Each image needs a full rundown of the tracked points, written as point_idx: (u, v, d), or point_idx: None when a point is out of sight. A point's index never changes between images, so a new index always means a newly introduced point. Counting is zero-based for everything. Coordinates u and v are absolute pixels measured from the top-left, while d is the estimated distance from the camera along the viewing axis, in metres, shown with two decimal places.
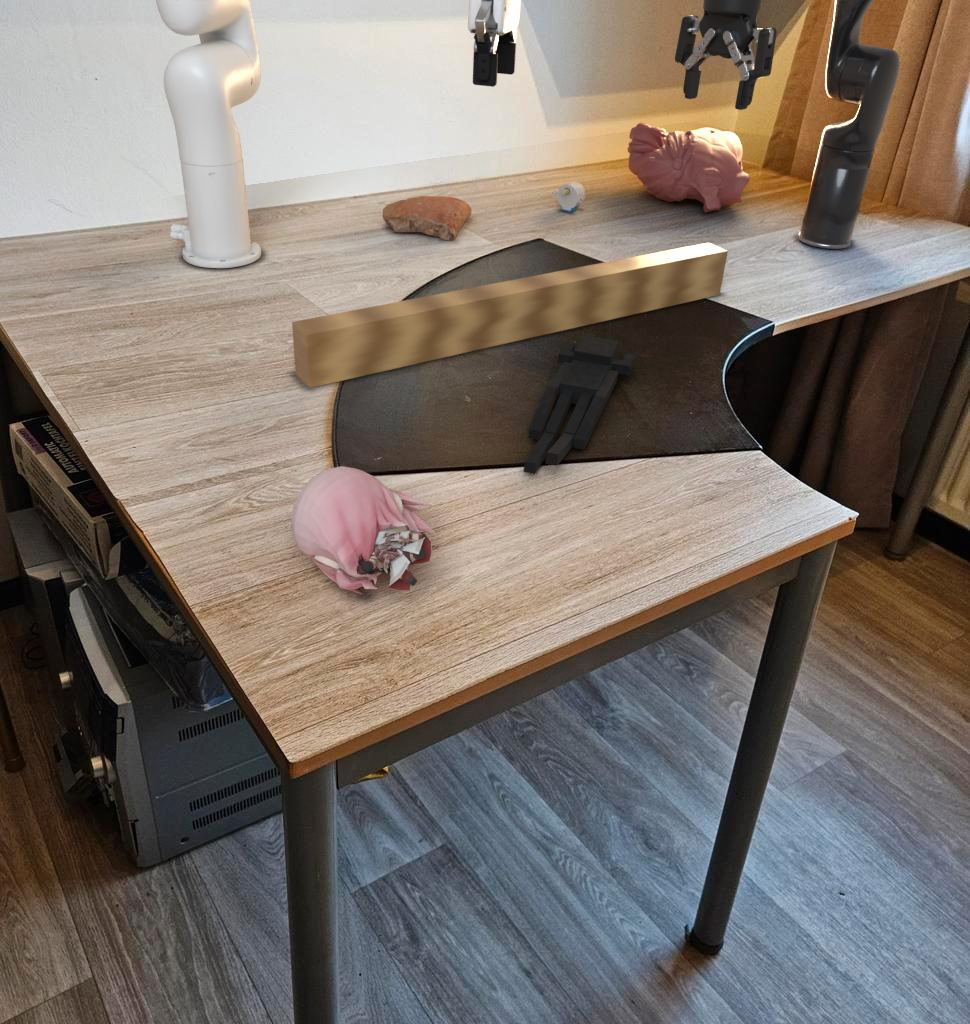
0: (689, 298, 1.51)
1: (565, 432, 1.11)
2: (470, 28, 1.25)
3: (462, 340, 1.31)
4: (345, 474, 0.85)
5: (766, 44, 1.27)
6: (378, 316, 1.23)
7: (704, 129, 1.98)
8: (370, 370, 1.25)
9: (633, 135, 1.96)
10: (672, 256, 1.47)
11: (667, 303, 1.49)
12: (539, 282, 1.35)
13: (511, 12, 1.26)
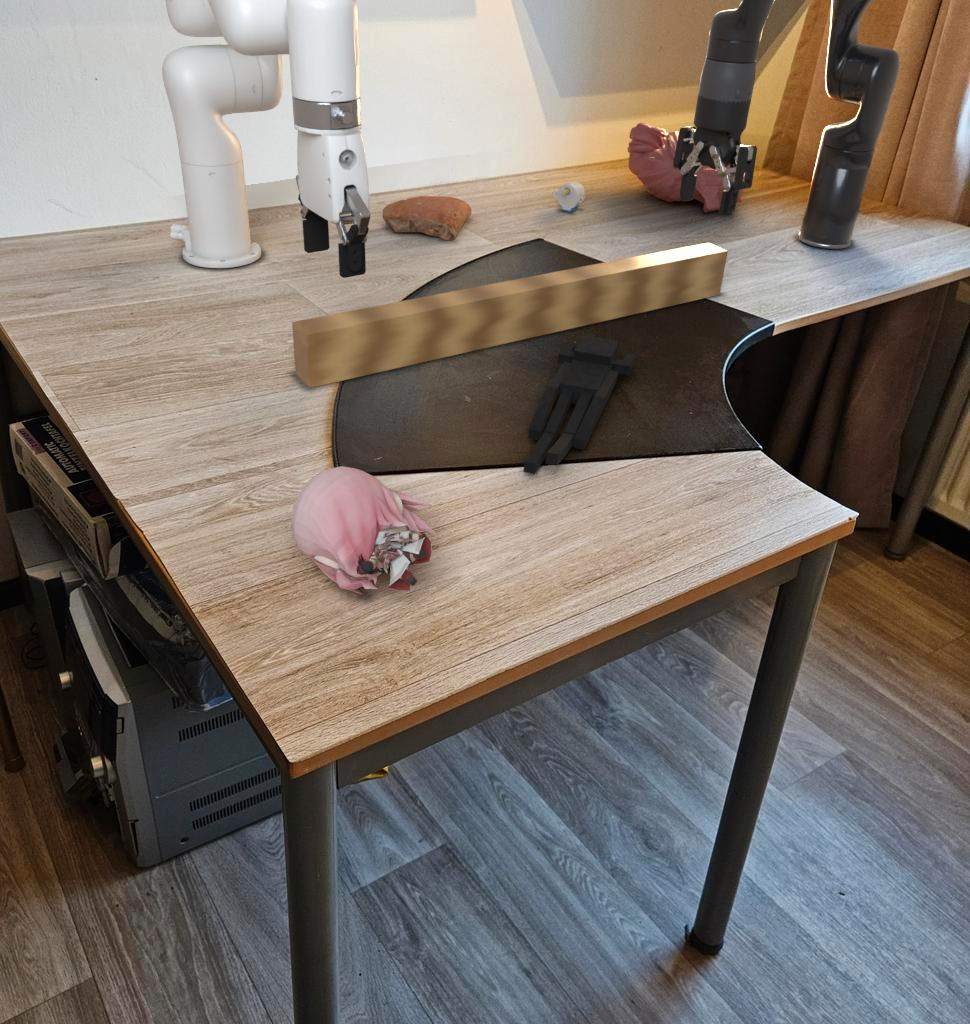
0: (689, 298, 1.51)
1: (565, 432, 1.11)
2: None
3: (462, 340, 1.31)
4: (345, 474, 0.85)
5: (744, 161, 1.36)
6: (378, 316, 1.23)
7: None
8: (370, 370, 1.25)
9: (633, 135, 1.96)
10: (672, 256, 1.47)
11: (667, 303, 1.49)
12: (539, 282, 1.35)
13: (307, 191, 1.12)
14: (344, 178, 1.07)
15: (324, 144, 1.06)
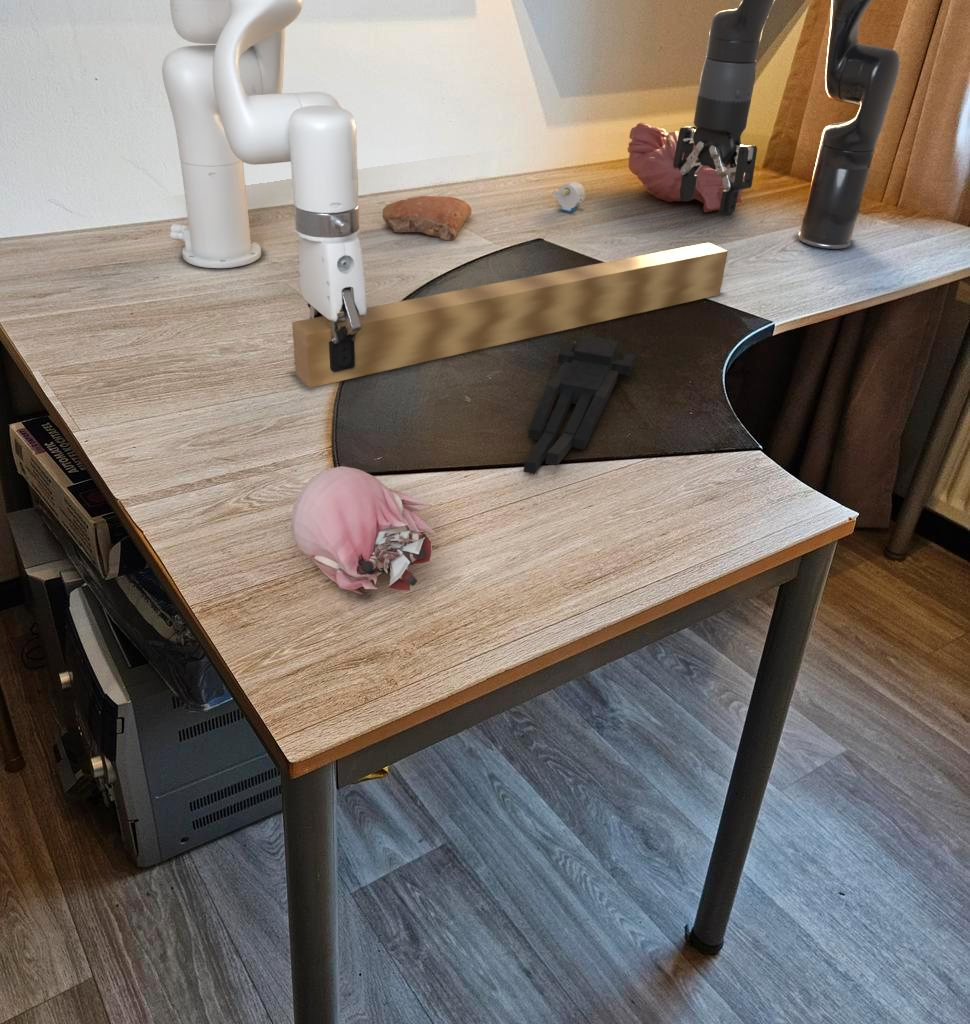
0: (689, 298, 1.51)
1: (565, 432, 1.11)
2: None
3: (462, 340, 1.31)
4: (345, 474, 0.85)
5: (744, 161, 1.36)
6: (378, 316, 1.23)
7: None
8: (370, 370, 1.25)
9: (633, 135, 1.96)
10: (672, 256, 1.47)
11: (667, 303, 1.49)
12: (539, 282, 1.35)
13: (308, 288, 1.18)
14: (342, 281, 1.13)
15: (323, 251, 1.12)
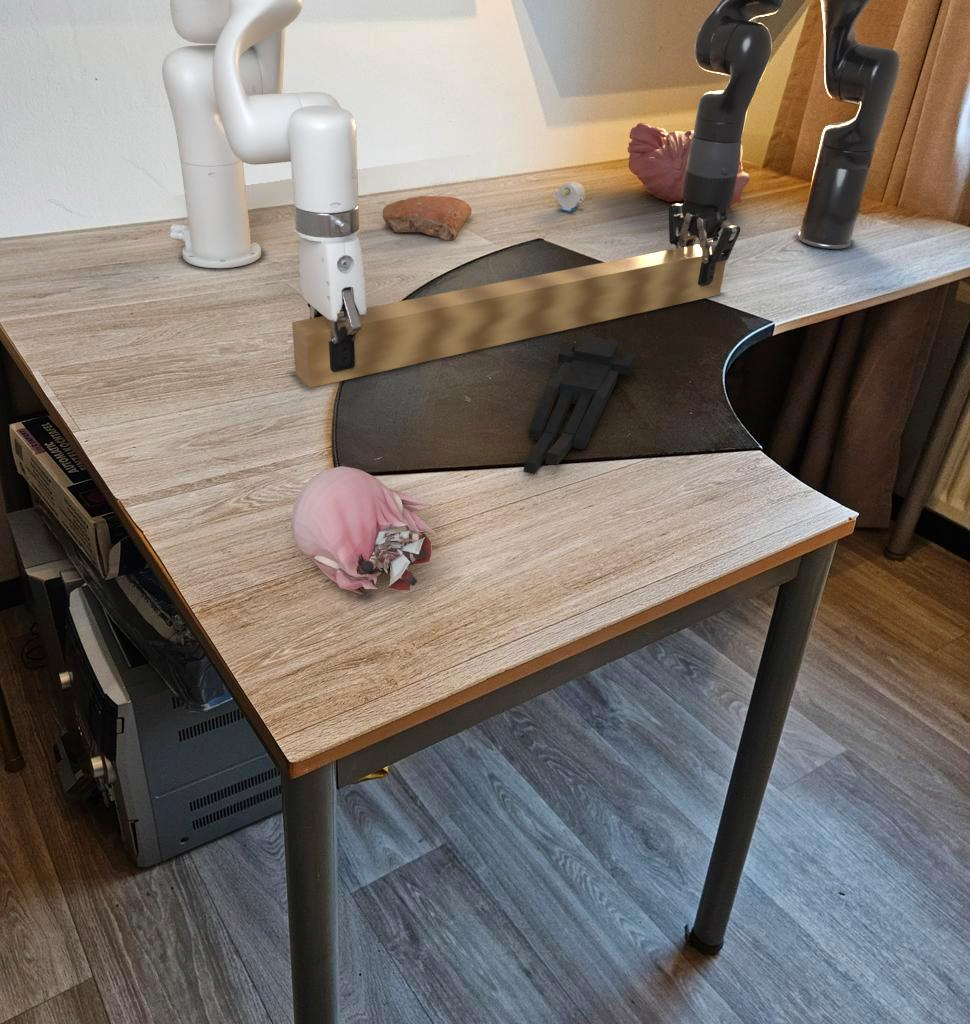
0: (689, 298, 1.51)
1: (565, 432, 1.11)
2: None
3: (462, 340, 1.31)
4: (345, 474, 0.85)
5: (726, 241, 1.43)
6: (378, 316, 1.23)
7: None
8: (370, 370, 1.25)
9: (633, 135, 1.96)
10: (672, 256, 1.47)
11: (667, 303, 1.49)
12: (539, 282, 1.35)
13: (308, 288, 1.18)
14: (342, 281, 1.13)
15: (323, 251, 1.12)
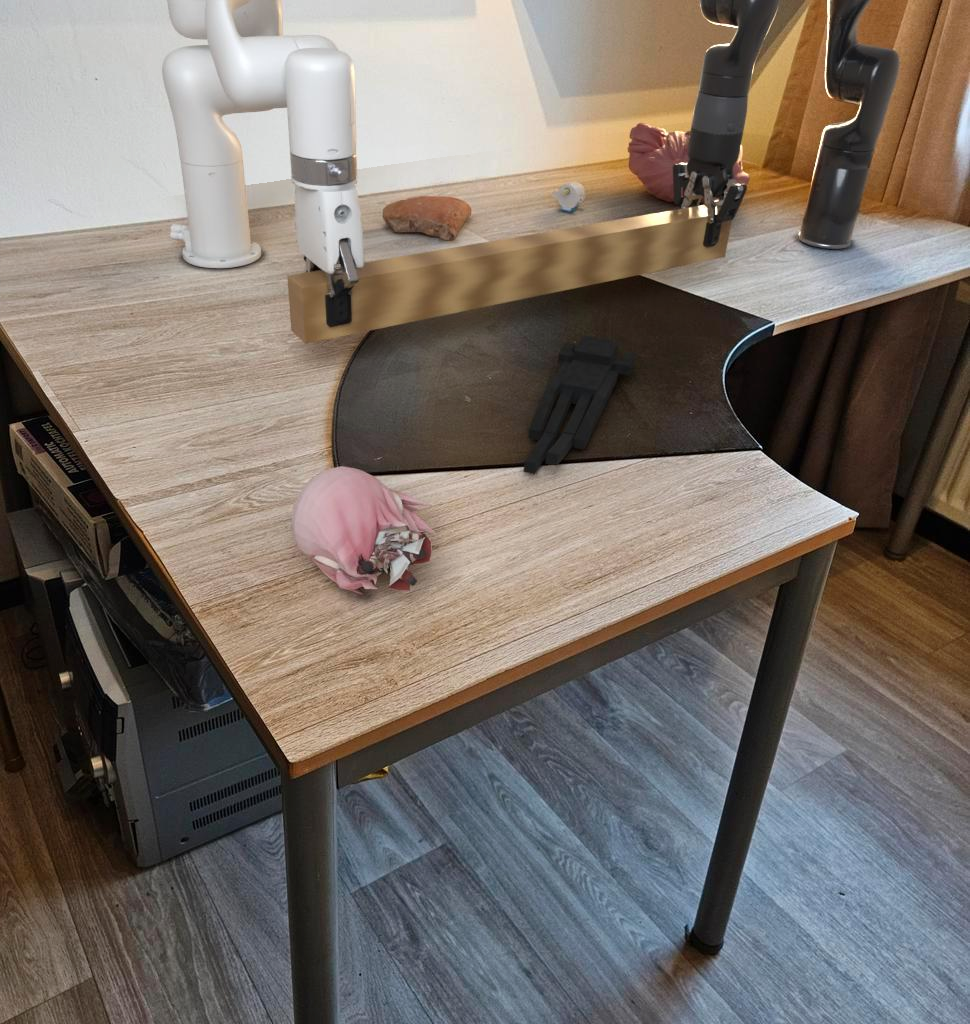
0: (694, 260, 1.48)
1: (565, 432, 1.11)
2: None
3: (461, 297, 1.28)
4: (345, 474, 0.85)
5: (732, 199, 1.40)
6: (375, 271, 1.20)
7: None
8: (367, 326, 1.22)
9: (633, 135, 1.96)
10: (677, 216, 1.44)
11: (672, 264, 1.46)
12: (541, 239, 1.32)
13: (304, 240, 1.15)
14: (339, 232, 1.10)
15: (320, 199, 1.08)
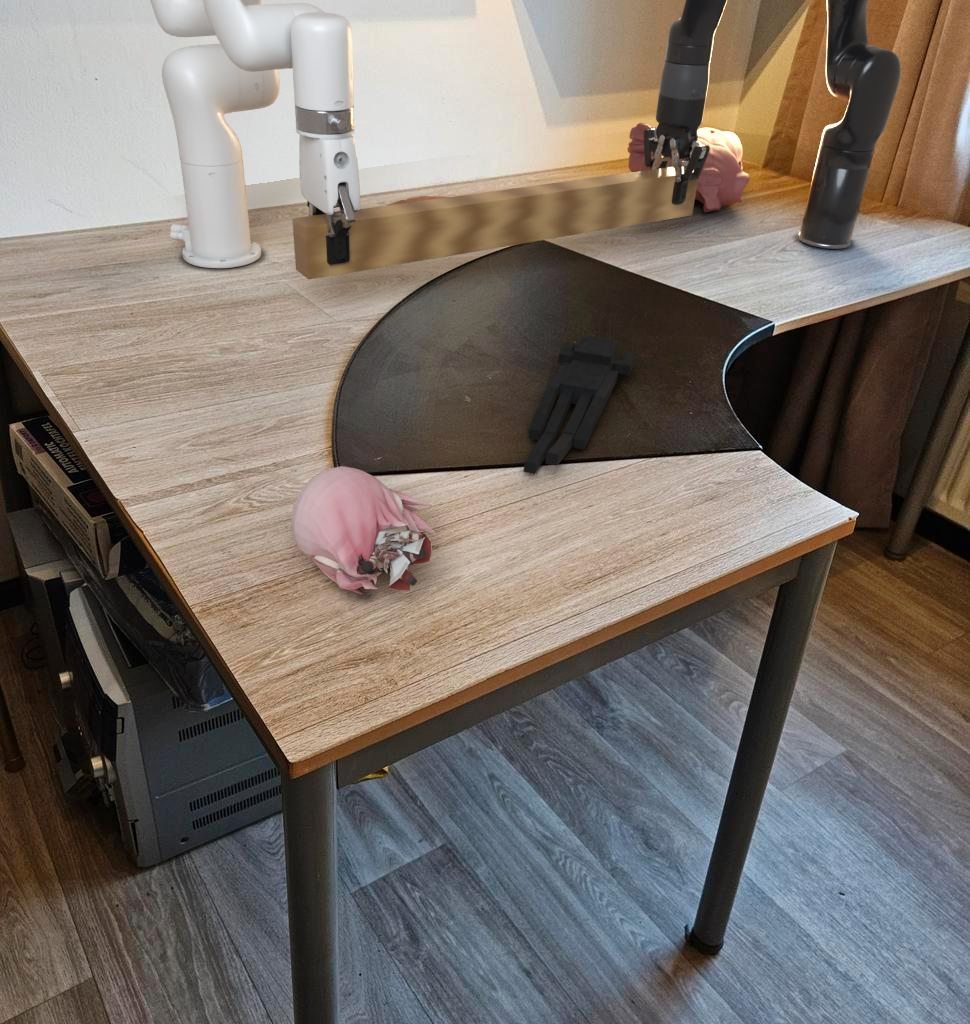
0: (663, 216, 1.62)
1: (565, 432, 1.11)
2: None
3: (449, 242, 1.42)
4: (345, 474, 0.85)
5: (696, 159, 1.54)
6: (371, 215, 1.34)
7: (704, 129, 1.98)
8: (363, 266, 1.36)
9: (633, 135, 1.96)
10: (647, 175, 1.58)
11: (642, 219, 1.60)
12: (521, 192, 1.47)
13: (307, 186, 1.30)
14: (338, 176, 1.25)
15: (321, 147, 1.23)
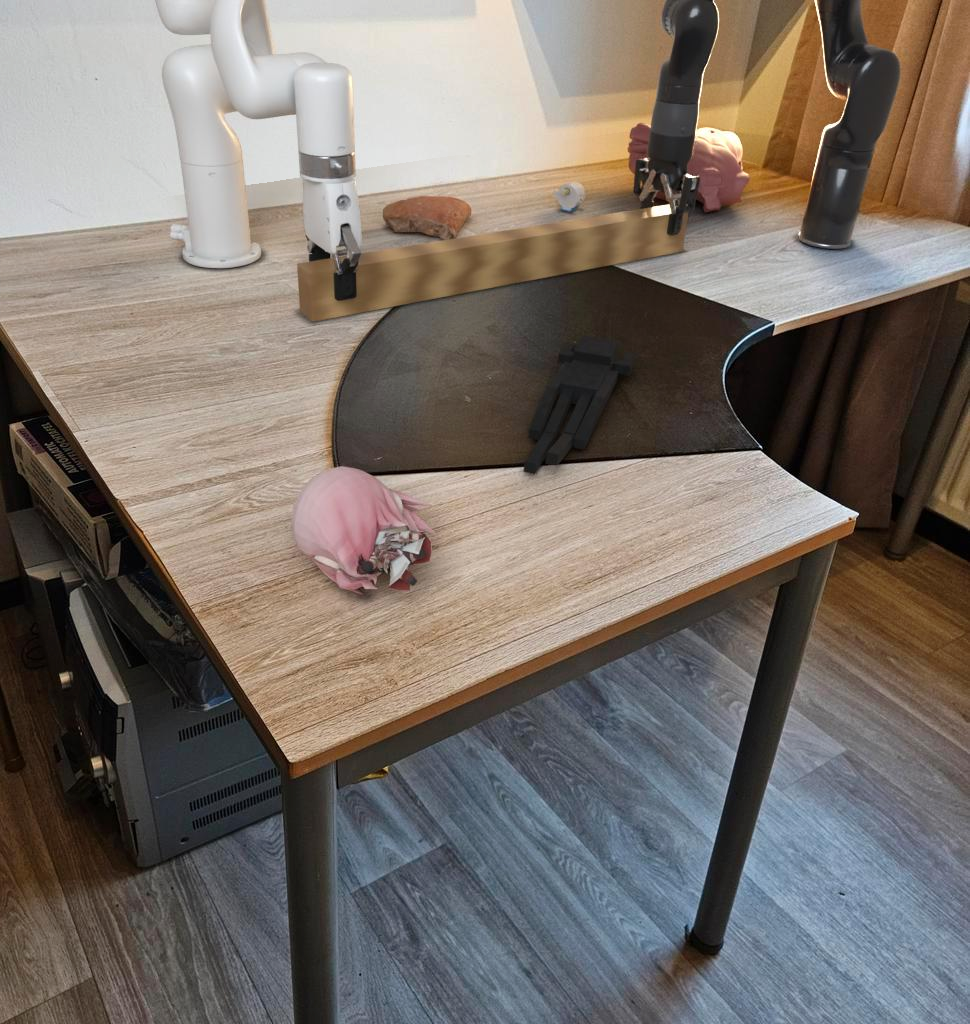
0: (654, 253, 1.68)
1: (565, 432, 1.11)
2: None
3: (447, 284, 1.48)
4: (345, 474, 0.85)
5: (688, 190, 1.59)
6: (372, 260, 1.40)
7: (704, 129, 1.98)
8: (365, 308, 1.42)
9: (633, 135, 1.96)
10: (638, 215, 1.64)
11: (634, 257, 1.66)
12: (517, 234, 1.52)
13: (310, 226, 1.34)
14: (340, 218, 1.29)
15: (324, 190, 1.28)
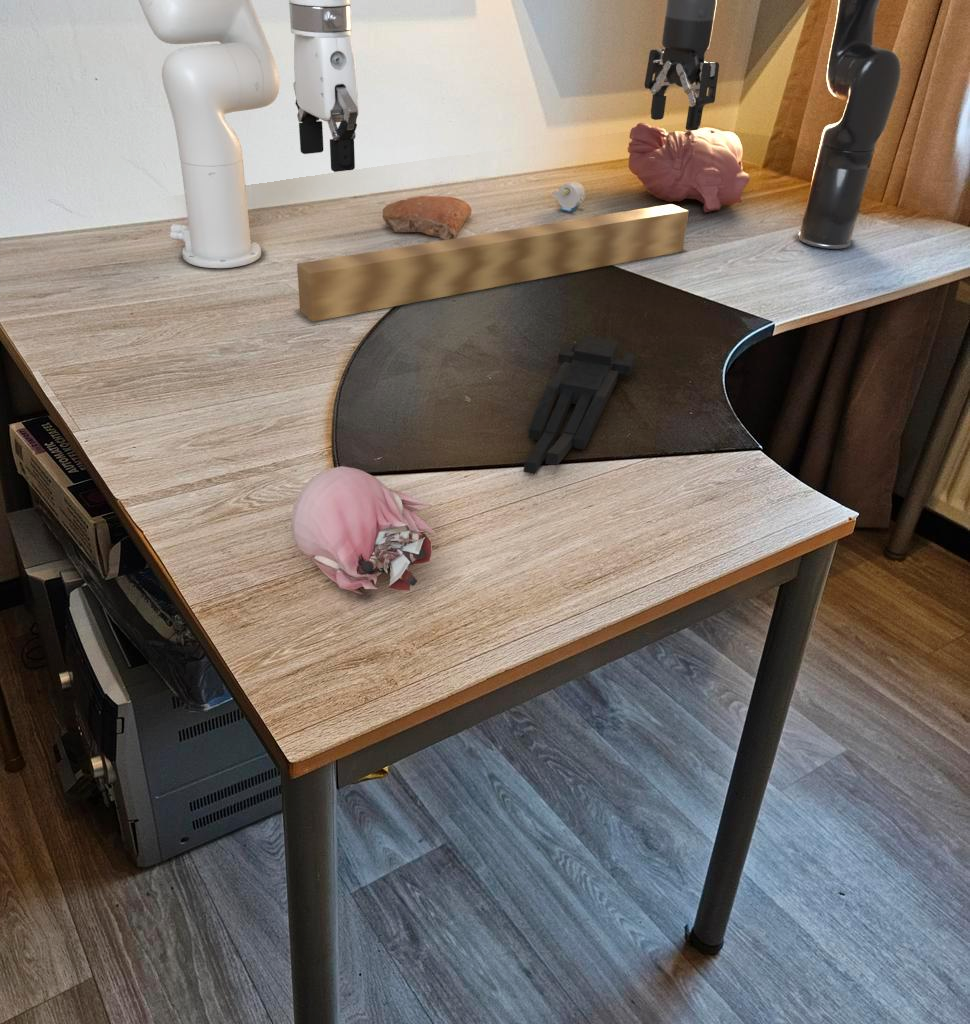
0: (654, 253, 1.68)
1: (565, 432, 1.11)
2: None
3: (447, 284, 1.48)
4: (345, 474, 0.85)
5: (707, 76, 1.49)
6: (372, 260, 1.40)
7: (704, 129, 1.98)
8: (365, 308, 1.42)
9: (633, 135, 1.96)
10: (638, 215, 1.64)
11: (634, 257, 1.66)
12: (517, 234, 1.52)
13: (303, 92, 1.25)
14: (335, 77, 1.20)
15: (317, 46, 1.18)
